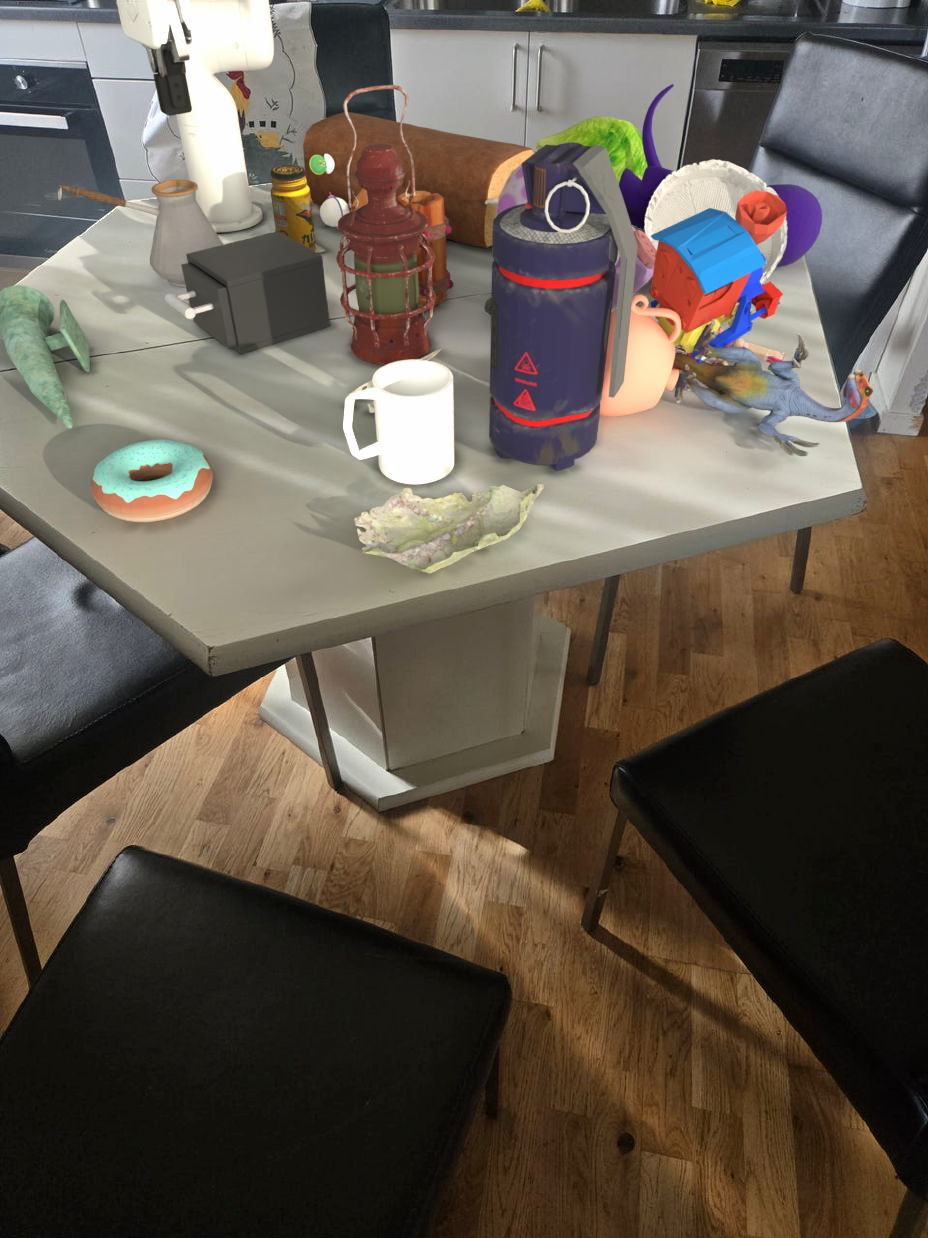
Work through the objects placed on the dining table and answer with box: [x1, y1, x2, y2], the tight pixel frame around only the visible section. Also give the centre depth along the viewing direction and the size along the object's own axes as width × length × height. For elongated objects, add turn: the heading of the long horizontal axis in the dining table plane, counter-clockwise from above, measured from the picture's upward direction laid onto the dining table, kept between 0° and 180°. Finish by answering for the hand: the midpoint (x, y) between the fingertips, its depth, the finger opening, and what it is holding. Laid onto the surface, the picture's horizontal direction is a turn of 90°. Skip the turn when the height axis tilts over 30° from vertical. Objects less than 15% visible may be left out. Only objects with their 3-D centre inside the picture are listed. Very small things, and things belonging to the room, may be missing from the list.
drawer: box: [164, 263, 237, 350], centre depth 118 cm, size 16×10×8 cm, turn 128°
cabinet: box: [186, 230, 331, 355], centre depth 119 cm, size 14×12×10 cm
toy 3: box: [619, 83, 823, 268], centre depth 135 cm, size 21×24×30 cm
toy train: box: [649, 191, 787, 364], centre depth 100 cm, size 10×16×15 cm, turn 118°
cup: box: [342, 358, 455, 485], centre depth 93 cm, size 8×12×10 cm
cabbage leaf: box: [354, 482, 545, 574], centre depth 85 cm, size 16×8×15 cm
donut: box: [90, 438, 214, 523], centre depth 91 cm, size 12×12×4 cm
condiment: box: [269, 164, 327, 254], centre depth 139 cm, size 7×8×12 cm
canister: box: [488, 142, 638, 472], centre depth 89 cm, size 14×12×30 cm
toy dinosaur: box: [672, 319, 874, 457], centre depth 102 cm, size 11×22×20 cm
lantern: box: [335, 84, 436, 365], centre depth 107 cm, size 12×12×30 cm
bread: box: [302, 111, 536, 249], centre depth 150 cm, size 16×39×13 cm, turn 54°
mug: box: [350, 188, 454, 308], centre depth 124 cm, size 15×8×15 cm, turn 71°
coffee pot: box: [57, 179, 224, 288], centre depth 128 cm, size 21×12×15 cm, turn 114°
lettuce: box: [535, 115, 648, 185], centre depth 150 cm, size 15×22×15 cm, turn 54°
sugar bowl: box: [599, 293, 681, 417], centre depth 101 cm, size 12×14×10 cm
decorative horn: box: [0, 284, 91, 430], centre depth 109 cm, size 7×11×30 cm
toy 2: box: [495, 164, 657, 312], centre depth 121 cm, size 17×23×30 cm
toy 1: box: [309, 154, 350, 233], centre depth 147 cm, size 6×12×8 cm
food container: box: [644, 159, 788, 285], centre depth 127 cm, size 20×20×7 cm
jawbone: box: [347, 348, 442, 414], centre depth 110 cm, size 17×5×2 cm, turn 148°
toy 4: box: [675, 326, 786, 366], centre depth 110 cm, size 7×6×15 cm
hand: (176, 111), depth 105 cm, fingers closed
